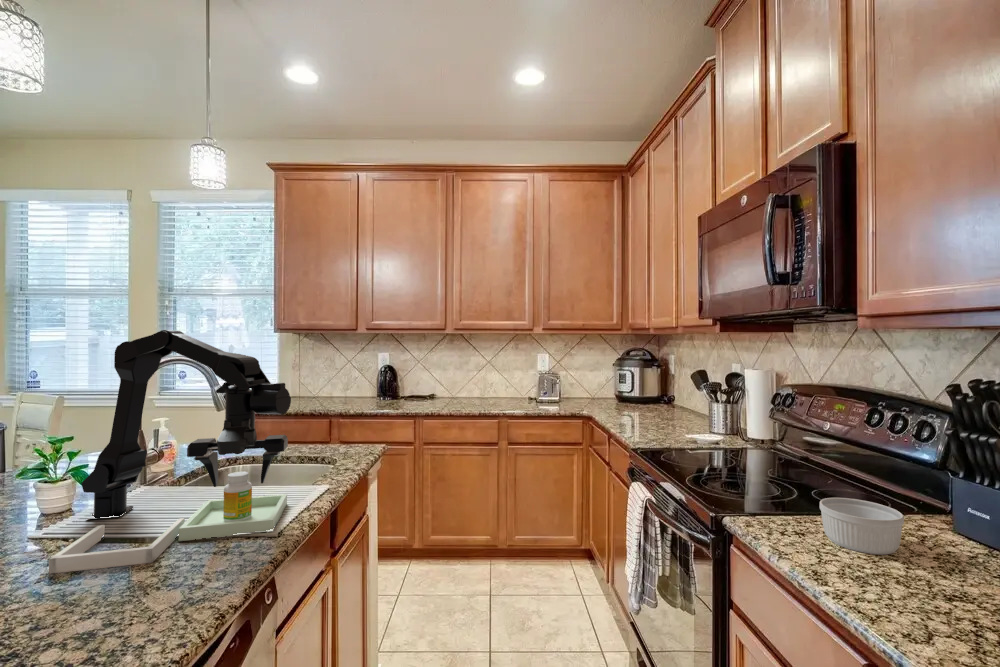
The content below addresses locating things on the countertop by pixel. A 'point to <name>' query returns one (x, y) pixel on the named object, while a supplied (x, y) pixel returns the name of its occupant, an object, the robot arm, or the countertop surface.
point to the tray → (213, 525)
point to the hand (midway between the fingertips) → (239, 484)
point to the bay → (109, 552)
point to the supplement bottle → (237, 497)
